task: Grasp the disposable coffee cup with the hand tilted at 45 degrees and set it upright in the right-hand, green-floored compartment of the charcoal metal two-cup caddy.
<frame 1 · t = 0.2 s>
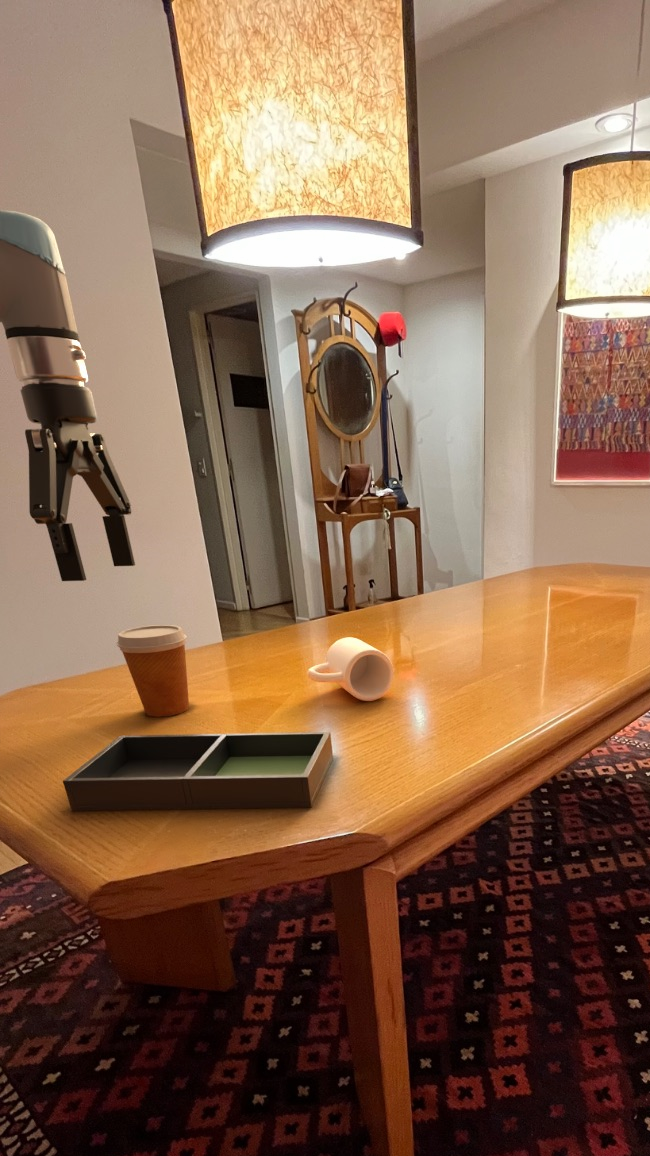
hand: (101, 573, 89), 21 cm above the table, tool pointing down, fingers open, 13 cm apart
caddy: (211, 783, 78), on the table
mug: (349, 696, 108), on the table
disposable coffee cup: (167, 711, 103), on the table
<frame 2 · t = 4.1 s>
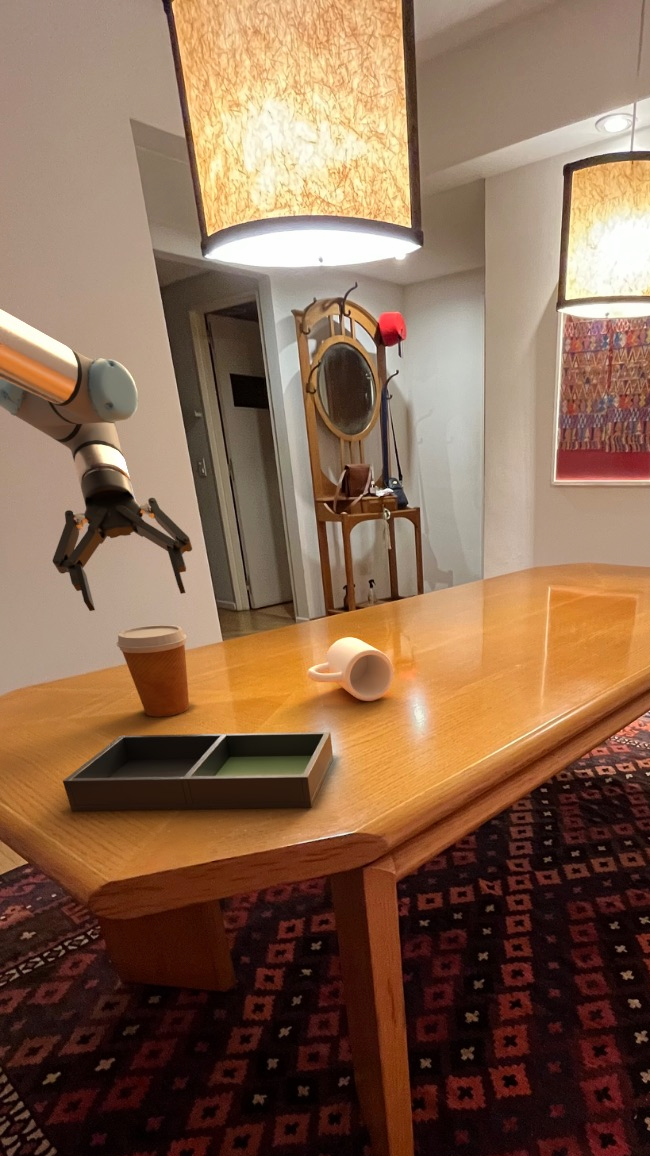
hand: (136, 597, 104), 15 cm above the table, tool tilted 40°, fingers open, 13 cm apart
nothing on the table moved.
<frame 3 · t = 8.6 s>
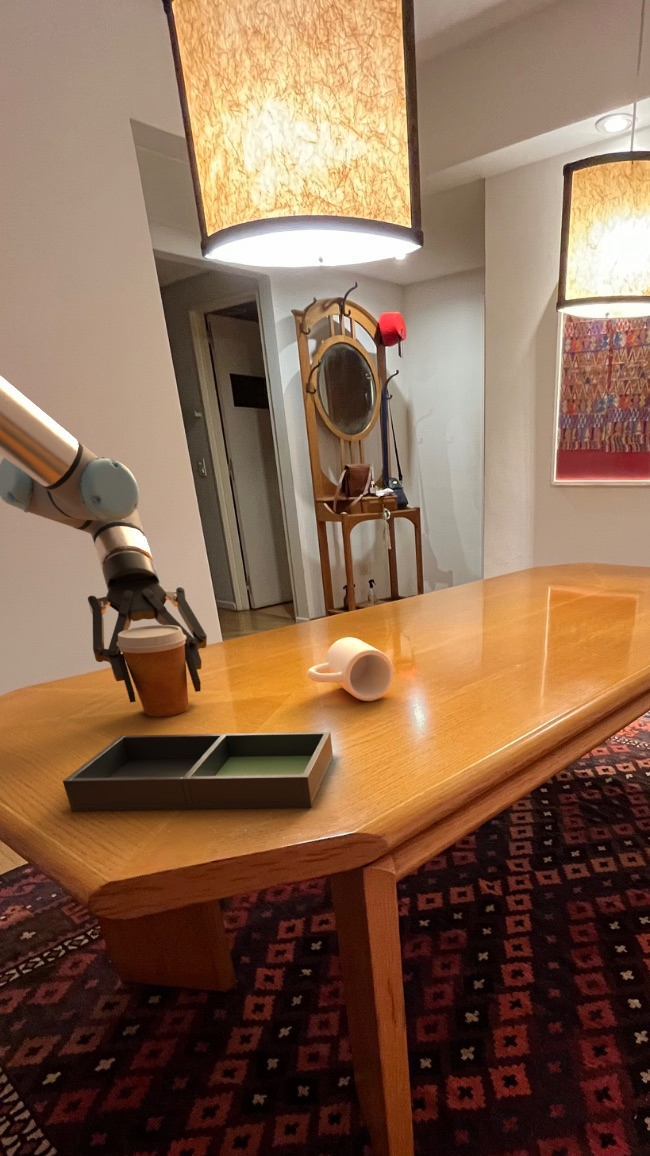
hand: (165, 692, 99), 4 cm above the table, tool tilted 45°, fingers closed on disposable coffee cup, 8 cm apart
disposable coffee cup: (167, 711, 103), on the table, touching gripper
everything else where it was.
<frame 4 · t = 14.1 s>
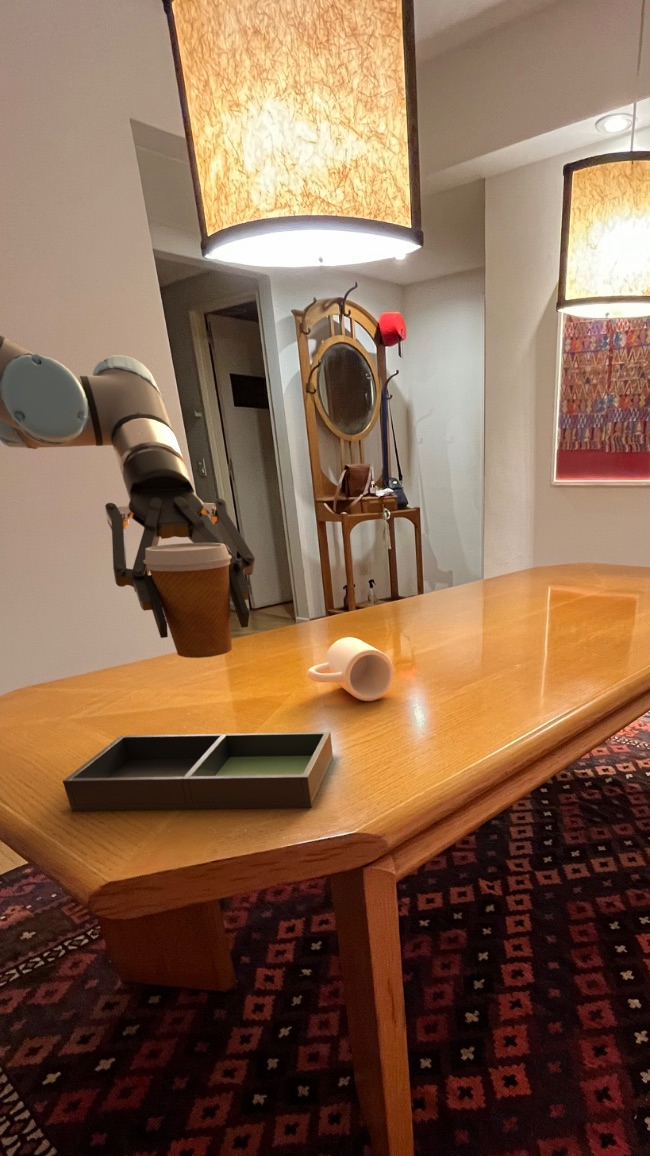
hand: (205, 625, 77), 17 cm above the table, tool tilted 45°, fingers closed on disposable coffee cup, 8 cm apart
disposable coffee cup: (205, 653, 82), point 13 cm above the table, touching gripper
everything else where it was.
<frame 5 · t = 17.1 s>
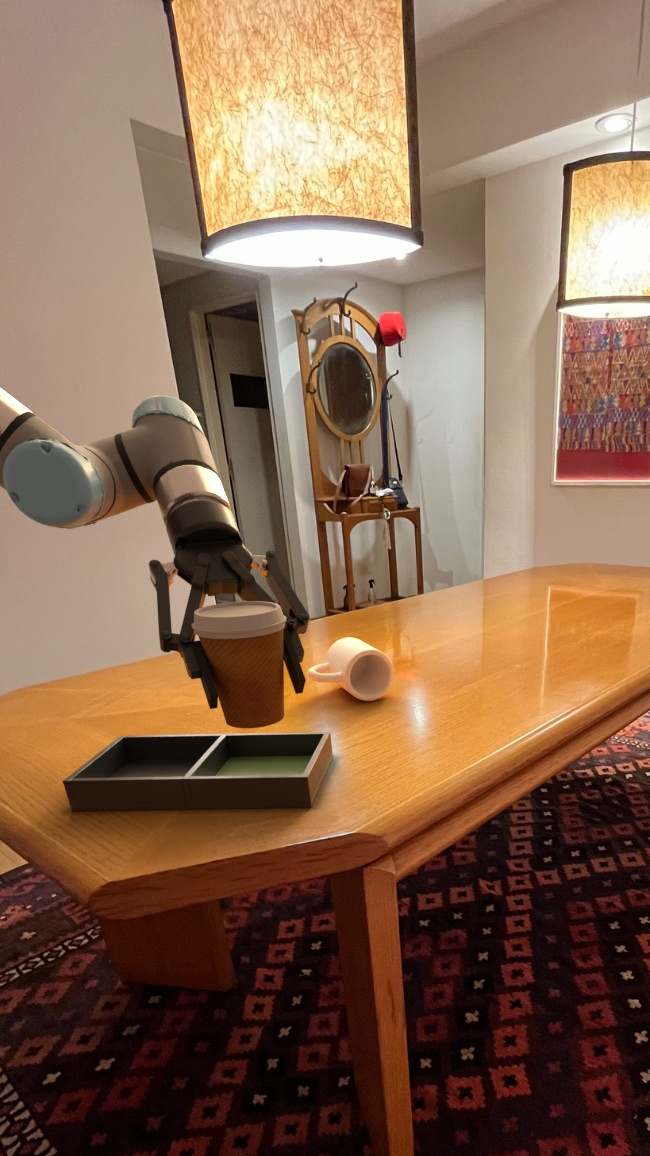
hand: (258, 694, 70), 11 cm above the table, tool tilted 45°, fingers closed on disposable coffee cup, 8 cm apart
disposable coffee cup: (255, 720, 75), point 8 cm above the table, touching gripper
everything else where it was.
when the fingers open (5 cm above the table, at t = 19.6 s): disposable coffee cup stays where it is, resting on caddy.
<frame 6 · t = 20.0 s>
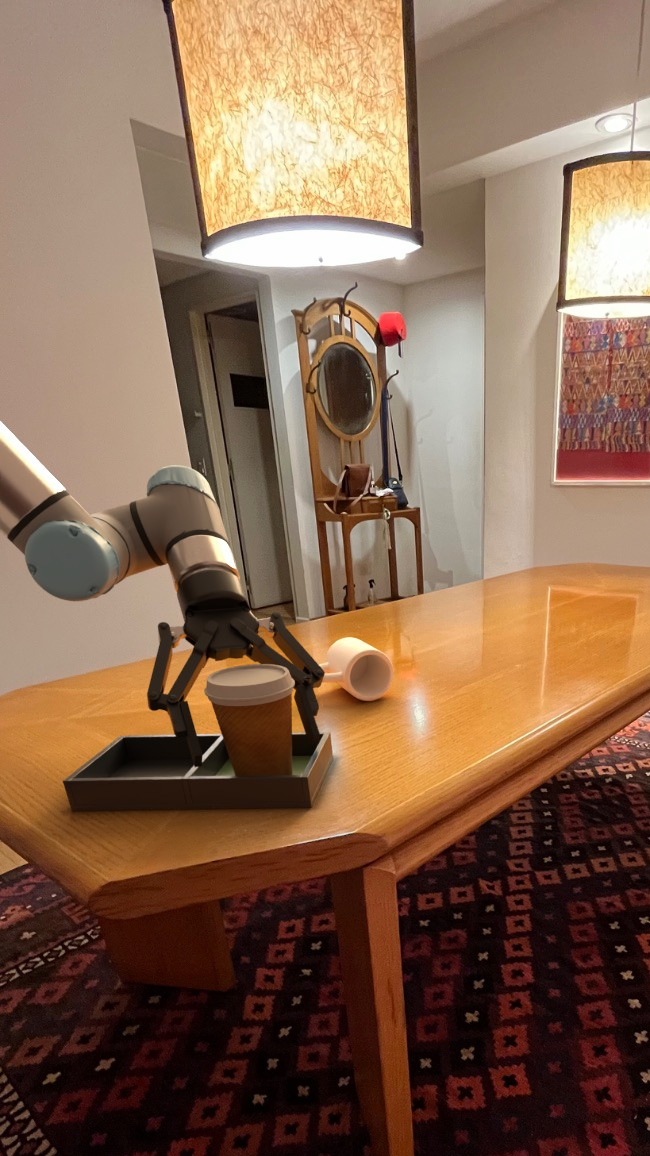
hand: (258, 750, 73), 5 cm above the table, tool tilted 45°, fingers open, 12 cm apart
disposable coffee cup: (264, 777, 78), point 1 cm above the table, touching caddy
everything else where it was.
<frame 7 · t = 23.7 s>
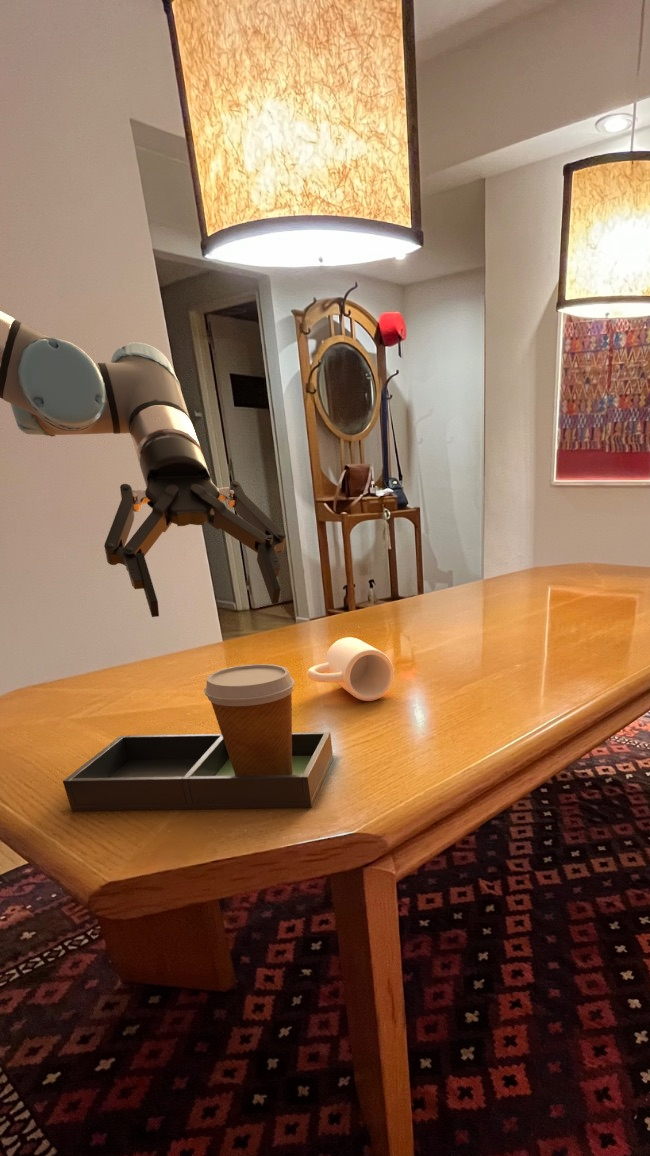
hand: (217, 603, 77), 19 cm above the table, tool tilted 45°, fingers open, 13 cm apart
nothing on the table moved.
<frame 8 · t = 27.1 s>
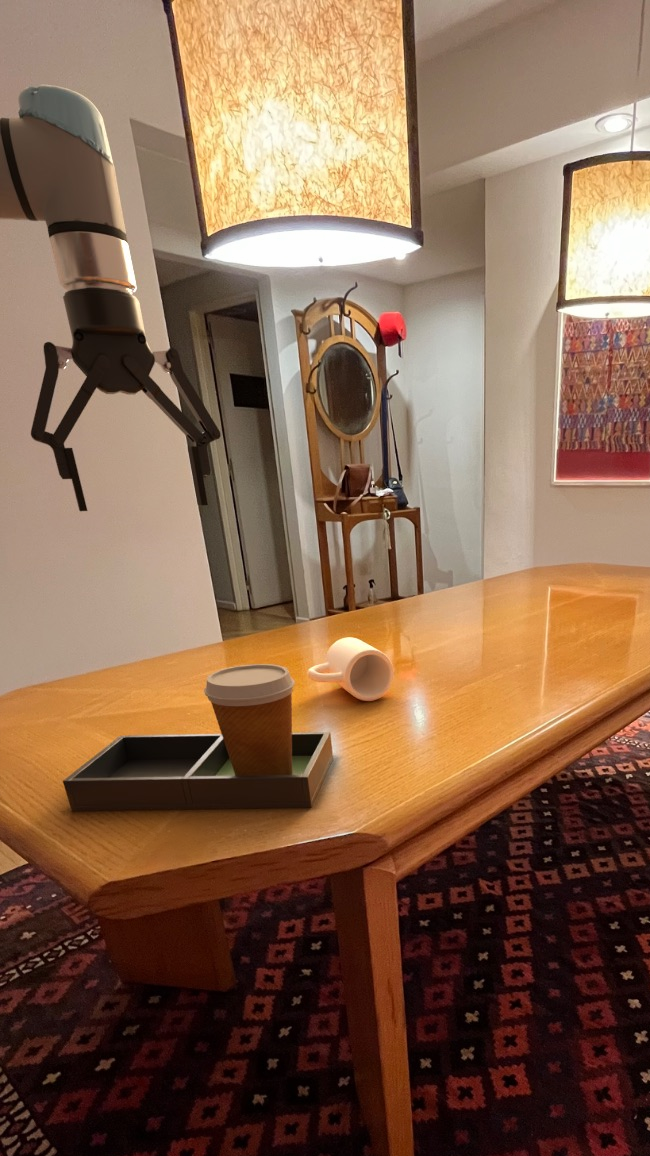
hand: (145, 508, 82), 29 cm above the table, tool pointing down, fingers open, 13 cm apart
nothing on the table moved.
at the end: disposable coffee cup inside the target area in the caddy (0.0 cm from its centre), point 0.6 cm above the caddy's base; disposable coffee cup tilted 0°; the gripper is holding nothing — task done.
